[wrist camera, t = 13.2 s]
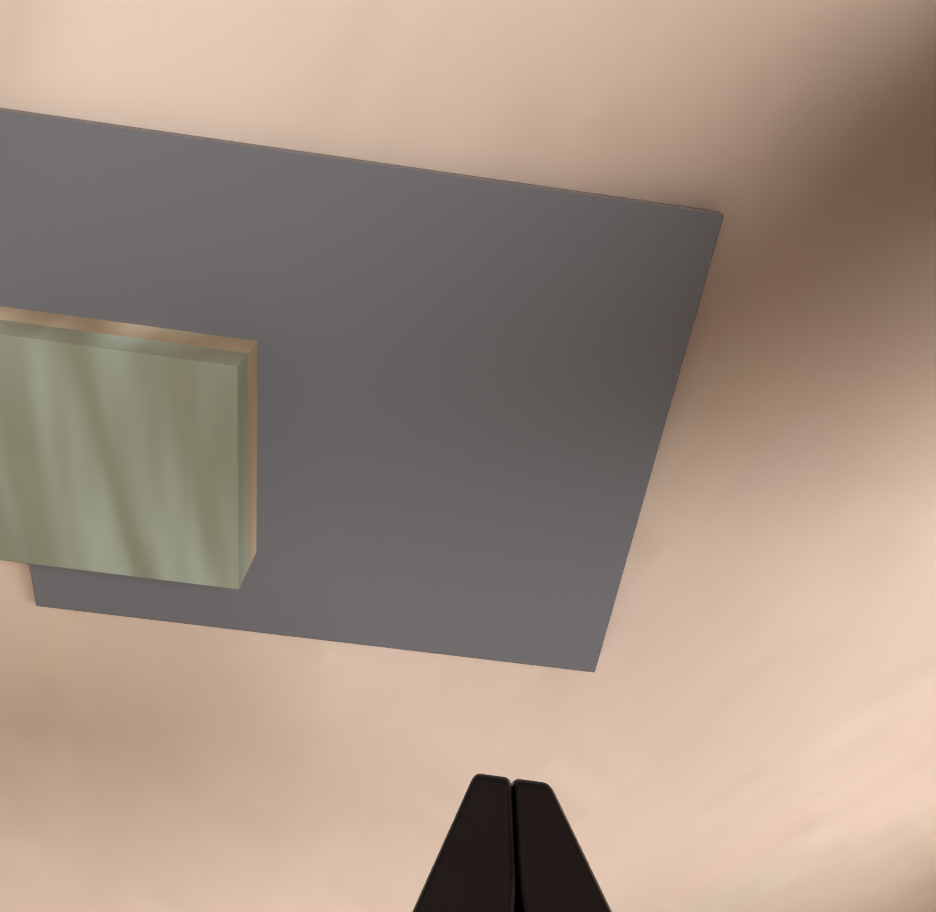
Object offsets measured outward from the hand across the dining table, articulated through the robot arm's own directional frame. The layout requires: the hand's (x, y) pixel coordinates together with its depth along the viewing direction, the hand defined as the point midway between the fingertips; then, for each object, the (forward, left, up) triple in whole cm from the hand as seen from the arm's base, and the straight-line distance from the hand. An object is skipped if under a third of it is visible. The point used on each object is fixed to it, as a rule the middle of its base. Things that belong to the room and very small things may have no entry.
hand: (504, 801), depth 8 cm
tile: (+6, +2, -10) cm, 12 cm away
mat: (+4, +2, -12) cm, 12 cm away
